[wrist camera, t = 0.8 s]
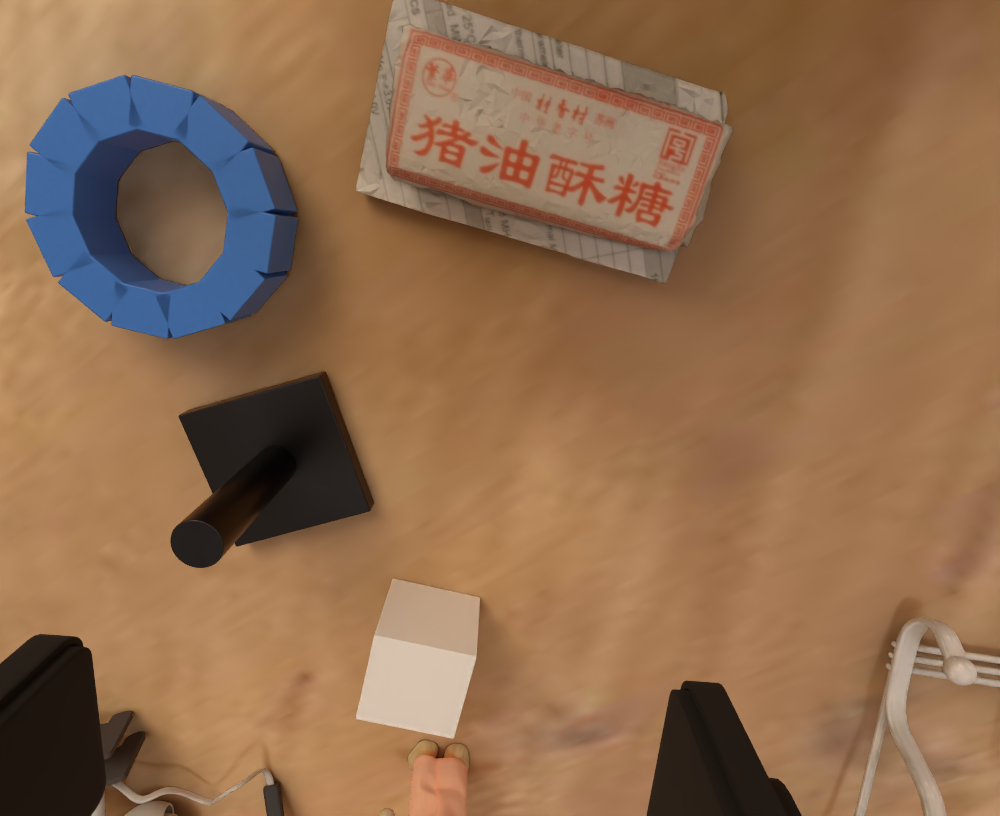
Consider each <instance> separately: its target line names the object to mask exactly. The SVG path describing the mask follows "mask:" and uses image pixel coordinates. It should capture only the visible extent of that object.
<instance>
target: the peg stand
mask: <svg viewBox="0 0 1000 816" xmlns="http://www.w3.org/2000/svg"><path fill="white" fill-rule="evenodd" d="M179 418H180V421H181V423H182V425H183V427H184V430H185V432H186V434H187V436H188V439H189V441H190V443H191V445H192V448H193V450H194V452H195V454H196V457H197V459H198V461H199V463H200V466H201V468H202V470H203V472H204V475H205V477H206V479H207V481H208V484H209V486H210V488H211V490H212V493H213V494H212V495H211V496H210V497H209V498H208V499H207V500H205V501H204V502H203V503H202V504H201V505H200V506H199V507H198V508H196V509H195V510H194V511H193V512H192V513H191V514H190V515H189V516H187V517H186V518H185V519H184V520H183V521H182V522H181V523H180V524H178V525H177V526H176V527H175V529H174V530H173V532H172V535H171V547H172V550H173V552H174V554H175V555H176V557H177V558H178V559H179V560H181V561H182V562H183V563H185V564H187V565H189V566H192V567H196V568H205V567H209V566H212V565H214V564H215V563H217V562H218V561H219V560H220V559H221V558H222V556H223V555H224V554H225V553H226V552H227V551H228V550H229V548H230V547H231V546H232V545H233V544H234V543H235V545H236V546H240V545H244V544H248V543H252V542H255V541H259V540H263V539H267V538H271V537H274V536H278V535H282V534H286V533H289V532H293V531H297V530H301V529H305V528H308V527H312V526H316V525H320V524H324V523H327V522H331V521H335V520H339V519H342V518H346V517H350V516H354V515H358V514H361V513H365V512H369V511H370V510H371V508H372V506H373V504H374V502H373V499H372V497H371V494H370V491H369V488H368V486H367V483H366V480H365V478H364V475H363V472H362V470H361V467H360V464H359V461H358V459H357V456H356V453H355V451H354V448H353V445H352V442H351V440H350V437H349V434H348V432H347V429H346V426H345V423H344V421H343V418H342V415H341V413H340V410H339V407H338V405H337V402H336V399H335V396H334V394H333V391H332V388H331V386H330V383H329V380H328V377H327V375H326V372H321V373H317V374H314V375H310V376H307V377H303V378H300V379H296V380H293V381H289V382H286V383H282V384H279V385H275V386H272V387H268V388H265V389H261V390H257V391H254V392H250V393H247V394H243V395H240V396H236V397H233V398H229V399H226V400H222V401H219V402H215V403H212V404H208V405H205V406H201V407H198V408H194V409H191V410H188V411H186V412H184V413H182V414H180V415H179Z"/></svg>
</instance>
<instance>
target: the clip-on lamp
mask: <svg viewBox="0 0 1000 816" xmlns="http://www.w3.org/2000/svg"><path fill="white" fill-rule="evenodd" d="M132 718H133V715H132V712H131V711H126V712H122V713H118V714H116V715H114V716H113V717H112V718H111V720H110V721H109V723H105V724H100V730H101V738H102V747H103V756H104V764H105V773H106V785H107V786H110V785H112V786H113V787H115V788H116V789H118V790H119V791H120V792H122V793H123V794H124V795H125V796H126V797H128V798H129V799H130V800H131V801H133V802H135V803H143V804H140V805H138V806H136V807H134V808H133V809H132V810H130V811H129V812H128V813H126V814H125V815H124V816H178V815H176V814H174V807H173V805H172V803H169V802H165V801H151V800H153V799H155V798H157V797H159V796H162V795H166V794H176V795H181V796H184V797H186V798H189V799H191V800H193V801H196V802H198V803H201V804H204V805H212V804H214V803H216V802H217V801H218V800H220V799H221V798H222V797H224V796H226V795H227V794H229V793H231V792H232V791H234V790H236V789H238V788H239V787H241V786H242V785H244V784H245V783H247V782H248V781H250V780H251V779H252V778H254V777H255V776H256V775H258V774H259V773H261V772H262V773H263V774H264V776H265V778H266V781H267V786H265V787H264V789H263V792H264V799H265V806H266V813H267V816H285V815H284V809H283V802H282V796H281V789H280V784H279V782H276V783H274V780H273V777H272V775H271V773H270V771H269V770H267V769H260V770H257V771H255V772H254V773H253V774H251V775H250V776H249V777H247V778H246V779H244V780H243V781H241V782H240V783H238V784H237V785H235V786H233V787H231V788H230V789H228V790H226V791H225V792H223V793H222V794H221V795H220V796H218V797H217V798H216V799H208V798H205V797H202V796H200V795H197V794H195V793H192V792H190V791H187V790H184V789H181V788H176V787H165V788H161V789H159V790H157V791H155V792H153V793H151V794H148V795H145V796H140V795H138V794H136V793H135V792H134V791H133V790H131V789H130V788H129V787H128V786H127V785H126V784H125V783H123V782H122V781H123V780H124V779H126V777H127V776H128V774H129V772H130V770H131V767H132V765H133V763H134V761H135V759H136V757H137V755H138V753H139V750H140V748H141V746H142V744H143V742H144V740H145V735H144V732H139V733H136V734H134V735H131V736H129V737H127V738H126V739H125V740H124V742H123V744H122V745H121V746H119V747H118V745H119V743H120V741H121V739H122V737H123V735H124V733H125V731H126V729H127V727H128V725H129V724H130V722H131V720H132ZM149 801H150V802H149ZM91 816H106V813H105V797H104V794H103V797H102V799H101V801H100V803H99V805H98V806H97V808H96V810H95V811H94V812H93V814H92V815H91Z"/></svg>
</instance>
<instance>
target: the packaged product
mask: <svg viewBox="0 0 1000 816" xmlns="http://www.w3.org/2000/svg"><path fill="white" fill-rule="evenodd" d="M727 112H728V109H727V103H726V97H725V93H723V92H719V91H715V90H711V89H707V88H704V87H702V86H698V85H695V84H692V83H689V82H686V81H683V80H680V79H677V78H674V77H670V76H667V75H664V74H660V73H657V72H654V71H651V70H648V69H645V68H642V67H639V66H636V65H632V64H629V63H627V62H624V61H620V60H617V59H614V58H611V57H608V56H605V55H602V54H600V53H597V52H595V51H592V50H589V49H586V48H583V47H580V46H576V45H572V44H568V43H565V42H563V41H560V40H557V39H554V38H551V37H547V36H544V35H541V34H538V33H534V32H531V31H528V30H526V29H523V28H520V27H516V26H512V25H508V24H506V23H503V22H500V21H498V20H495V19H492V18H489V17H486V16H483V15H480V14H477V13H474V12H471V11H468V10H464V9H461V8H459V7H456V6H453V5H450V4H447V3H443V2H440V1H437V0H393V3H392V7H391V12H390V16H389V21H388V27H387V34H386V38H385V43H384V47H383V52H382V57H381V62H380V67H379V72H378V78H377V83H376V88H375V93H374V98H373V103H372V109H371V114H370V120H369V125H368V129H367V134H366V138H365V144H364V149H363V155H362V160H361V165H360V171H359V177H358V181H357V186H356V190H355V191H357V192H360V193H364V194H367V195H370V196H373V197H376V198H379V199H382V200H385V201H389V202H392V203H395V204H398V205H401V206H404V207H407V208H410V209H413V210H416V211H420V212H423V213H426V214H429V215H433V216H437V217H440V218H444V219H448V220H451V221H455V222H458V223H462V224H465V225H469V226H473V227H476V228H480V229H483V230H487V231H490V232H494V233H498V234H501V235H504V236H507V237H509V238H513V239H516V240H519V241H523V242H526V243H529V244H533V245H536V246H539V247H543V248H546V249H550V250H554V251H558V252H562V253H566V254H569V255H571V256H573V257H575V258H579V259H582V260H585V261H589V262H592V263H596V264H599V265H602V266H606V267H609V268H613V269H617V270H621V271H625V272H629V273H633V274H637V275H640V276H642V277H645V278H648V279H651V280H654V281H657V282H660V283H664V284H666V283H667V280H668V277H669V274H670V271H671V269H672V266H673V264H674V261H675V258H676V256H677V253H678V250H679V247H680V246H684V247H687V245H688V244H689V242H690V241H691V239H692V235H693V231H694V229H695V227H696V226H697V225H698V224H699V223H700V222H701V221H702V220H703V216H704V213H705V209H706V205H707V201H708V197H709V193H710V190H711V184H712V178H713V176H714V175H715V172H716V170H717V168H718V166H719V165H720V163H721V154H722V152H723V149H724V147H725V146H726V144H727V143H728V141H729V139H730V137H731V135H732V131H733V128H732V127H731V126H729V125H728V124H724V122H725V118H726V115H727Z"/></svg>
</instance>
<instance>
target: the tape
mask: <svg viewBox="0 0 1000 816" xmlns="http://www.w3.org/2000/svg"><path fill="white" fill-rule="evenodd" d="M69 97H70V99H71V100H69V99H66V98H62V99H61V101H60V102H59V103H58V105H57V106H56V108H55V109H54V110H53V112H52V113H51V115H50V116H49V118H48V119H47V120H46V122H45V123H44V125H43V126H42V128H41V129H40V130H39V132H38V133H37V135H36V136H35V137H34V139H33V140H32V142H31V143H30V146H31V147H32V148H33V149H34V150H35V151H37V152H38V153H34V152H27V170H26V196H25V212H26V213H28V214H32V215H35V217H32V218H29V219H27V220H26V221H27V223H28V225H29V227H30V229H31V231H32V233H33V235H34V238H35V240H36V242H37V244H38V246H39V248H40V250H41V252H42V255H43V257H44V259H45V261H46V263H47V265H48V267H49V269H50V271H51V274H52V276H53V277H60V276H63V277H62V278H61V279H60V280H59V282H58V283H59V284H60V285H61V286H63V287H64V288H65V289H66V290H67V291H69V292H70V293H71V294H72V295H73V296H75V297H76V298H77V299H78V300H79V301H81V302H82V303H83V304H84V305H85V306H87V307H88V308H89V309H90V310H91V311H93V312H94V313H95V314H96V315H97V316H99V317H100V318H101V319H102V320H103V321H105V322H107V321H112V322H111V325H112V326H116V327H120V328H124V329H128V330H132V331H136V332H141V333H145V334H149V335H153V336H157V337H161V338H165V339H168V338H172V337H173V339H176V338H179V337H183V336H186V335H189V334H193V333H196V332H199V331H203V330H206V329H210V328H213V327H216V326H220V325H223V324H227V323H230V322H233V321H236V320H239V319H243V318H246V317H249V316H251V314H253V313H256V312H257V311H258V310H259V309H260V308H261V307H262V305H263V304H264V303H265V302H266V301H267V300H268V298H269V297H270V296H271V295H272V294H273V293H274V291H275V290H276V289H277V288H278V287H279V286H280V284H281V283H282V282H283V281H284V280H285V279H286V277H287V276H288V275H287V274H286V273H285V272H284V271H287V270H290V269H291V262H292V256H293V250H294V243H295V237H296V230H297V224H298V217H295V216H291V215H289V214H292V213H295V212H297V208H296V205H295V202H294V199H293V196H292V194H291V191H290V188H289V185H288V182H287V179H286V177H285V174H284V171H283V168H282V165H281V163H280V160H279V157H277V156H274V155H272V154H273V153H274V150H273V149H272V148H271V147H270V146H269V145H268V144H267V143H266V142H265V141H264V140H263V139H262V138H261V137H260V136H258V135H257V134H256V133H255V132H254V131H253V130H252V129H251V128H250V127H249V126H248V125H247V124H246V123H245V122H244V121H243V120H242V119H241V118H240V117H239V116H237V115H236V114H235V113H234V112H233V111H232V110H230V109H228V108H226V107H225V106H223V105H221V104H219V103H217V102H215V101H213V100H211V99H209V98H207V97H205V96H202V95H200V94H198V93H196V92H194V91H192V90H188V89H184V88H180V87H177V86H173V85H169V84H165V83H162V82H158V81H154V80H151V79H147V78H143V77H139V76H136V75H132V76H131V78H130V77H128V76H126V75H122V76H119V77H116V78H113V79H110V80H107V81H104V82H101V83H98V84H95V85H92V86H89V87H86V88H83V89H80V90H77V91H74V92H71V93H69ZM171 141H177V142H181V143H182V144H183V145H184V146H185V147H186V148H187V149H188V150H190V151H191V152H192V153H193V154H194V155H195V156H196V157H197V158H198V159H199V160H200V161H201V162H203V163H204V164H205V165H206V166H207V167H208V168H209V169H210V170H211V171H212V172H213V175H214V177H215V180H216V182H217V185H218V188H219V190H220V193H221V195H222V198H223V201H224V203H225V206H226V208H227V211H228V219H227V227H226V235H225V243H224V251H223V254H222V255H221V256H220V257H219V259H218V260H217V261H216V262H215V263H214V265H213V266H212V267H211V268H210V269H209V271H208V272H207V273H206V274H205V276H204V277H203V278H202V279H201V280H200V282H198V283H194V284H191V285H188V286H187V285H183V284H179V283H175V282H171V281H167V280H163V279H159V278H158V277H157V276H156V275H155V274H154V273H152V272H151V271H150V270H149V269H148V268H147V267H146V266H144V265H143V264H142V263H141V262H140V261H139V260H137V259H136V258H135V257H134V256H133V255H132V254H131V252H130V250H129V248H128V245H127V243H126V241H125V238H124V236H123V234H122V232H121V229H120V227H119V225H118V222H117V220H116V218H115V213H116V200H117V188H118V180H119V178H120V177H121V176H122V174H123V173H124V172H125V170H126V169H127V168H128V166H129V165H130V164H131V162H132V161H133V160H134V158H135V157H136V156H137V154H138V153H139V152H140V151H143V150H146V149H149V148H152V147H156V146H159V145H162V144H165V143H168V142H171Z"/></svg>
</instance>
